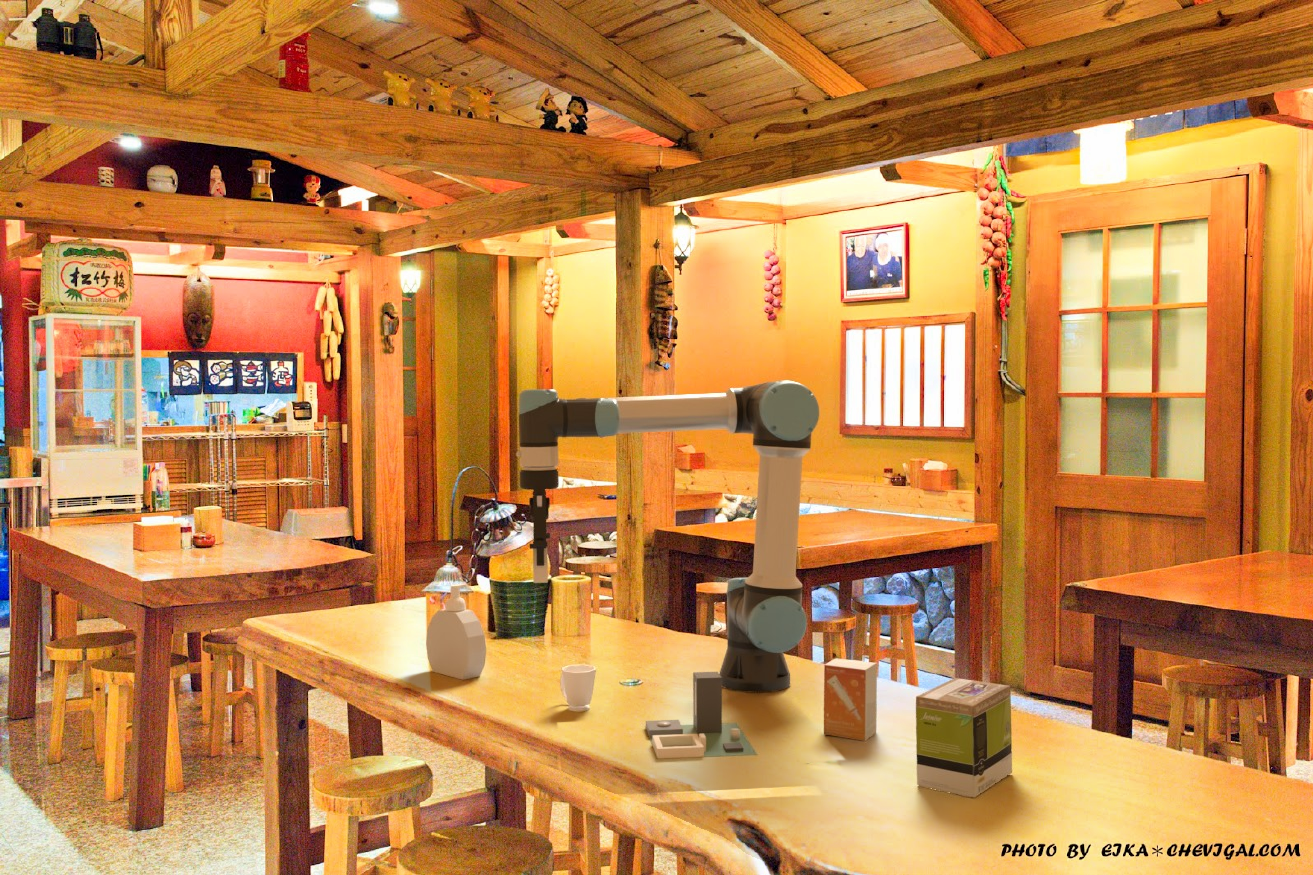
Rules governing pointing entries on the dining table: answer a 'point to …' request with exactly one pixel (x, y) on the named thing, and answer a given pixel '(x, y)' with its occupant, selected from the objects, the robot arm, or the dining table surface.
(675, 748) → the frame
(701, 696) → the plug
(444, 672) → the soap bottle
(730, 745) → the board
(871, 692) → the small box
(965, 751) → the tea box
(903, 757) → the dining table surface
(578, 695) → the cup
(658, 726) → the grey push button
